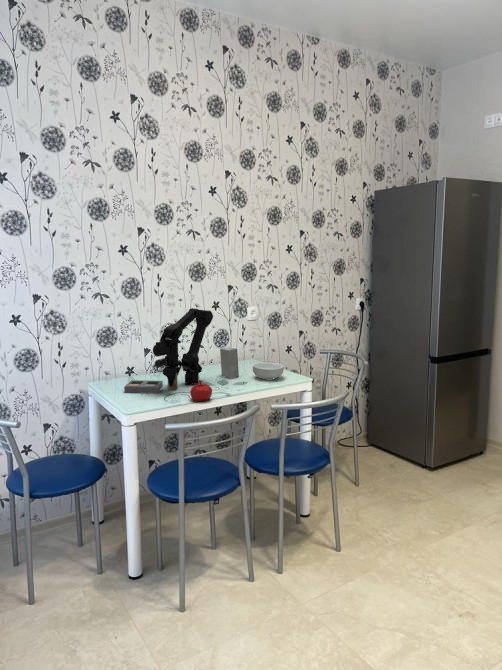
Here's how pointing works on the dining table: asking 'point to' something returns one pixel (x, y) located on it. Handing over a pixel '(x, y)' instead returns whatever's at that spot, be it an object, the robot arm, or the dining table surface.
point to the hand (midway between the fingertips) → (172, 384)
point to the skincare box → (229, 362)
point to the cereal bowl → (268, 370)
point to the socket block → (143, 386)
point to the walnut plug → (175, 385)
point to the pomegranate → (201, 392)
